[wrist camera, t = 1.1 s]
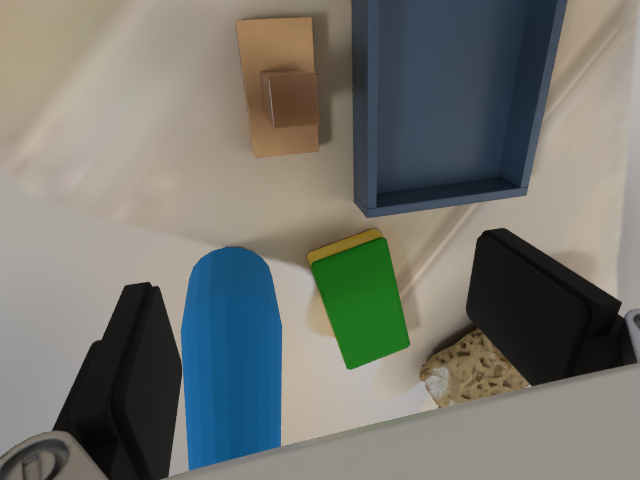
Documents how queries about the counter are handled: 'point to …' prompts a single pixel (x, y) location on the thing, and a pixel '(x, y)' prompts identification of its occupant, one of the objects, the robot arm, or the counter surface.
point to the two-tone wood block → (280, 85)
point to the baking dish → (448, 99)
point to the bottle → (231, 358)
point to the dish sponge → (360, 297)
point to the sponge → (469, 372)
